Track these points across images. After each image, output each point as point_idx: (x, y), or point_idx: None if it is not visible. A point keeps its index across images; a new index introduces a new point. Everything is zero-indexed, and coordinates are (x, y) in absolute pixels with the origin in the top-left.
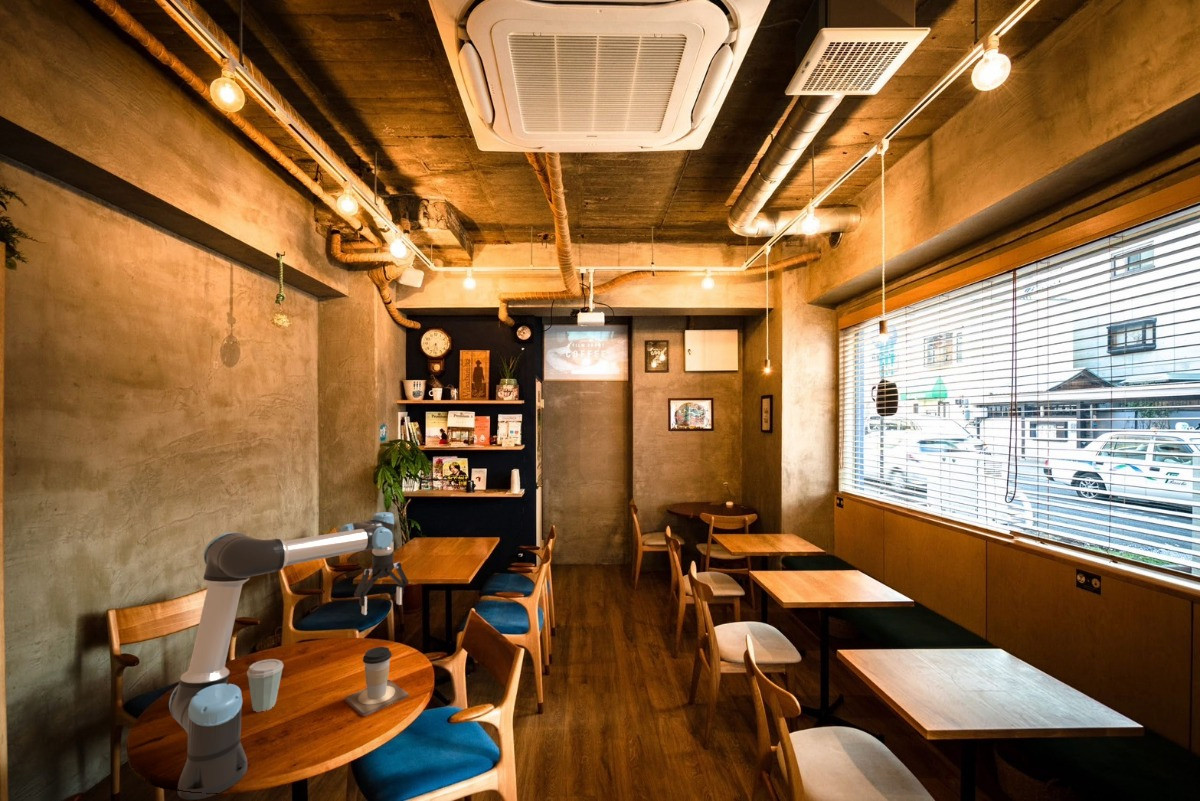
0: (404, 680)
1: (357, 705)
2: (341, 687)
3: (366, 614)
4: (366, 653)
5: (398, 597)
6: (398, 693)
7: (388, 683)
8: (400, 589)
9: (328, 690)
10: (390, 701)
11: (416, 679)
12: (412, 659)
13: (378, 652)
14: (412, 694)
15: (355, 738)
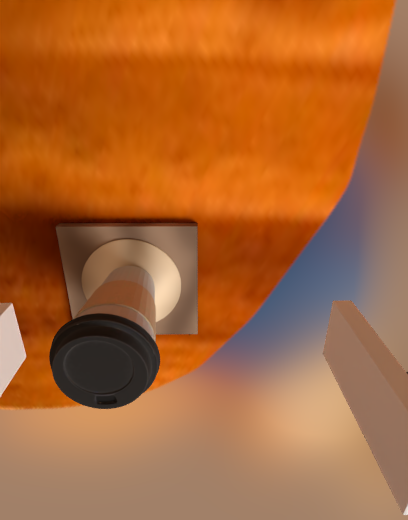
0: (236, 245)
1: (73, 293)
2: (70, 130)
3: (23, 357)
4: (58, 359)
5: (352, 378)
6: (179, 316)
7: (184, 248)
8: (401, 493)
9: (28, 115)
10: None
11: (262, 265)
12: (342, 125)
13: (103, 377)
14: (211, 324)
15: (43, 383)
